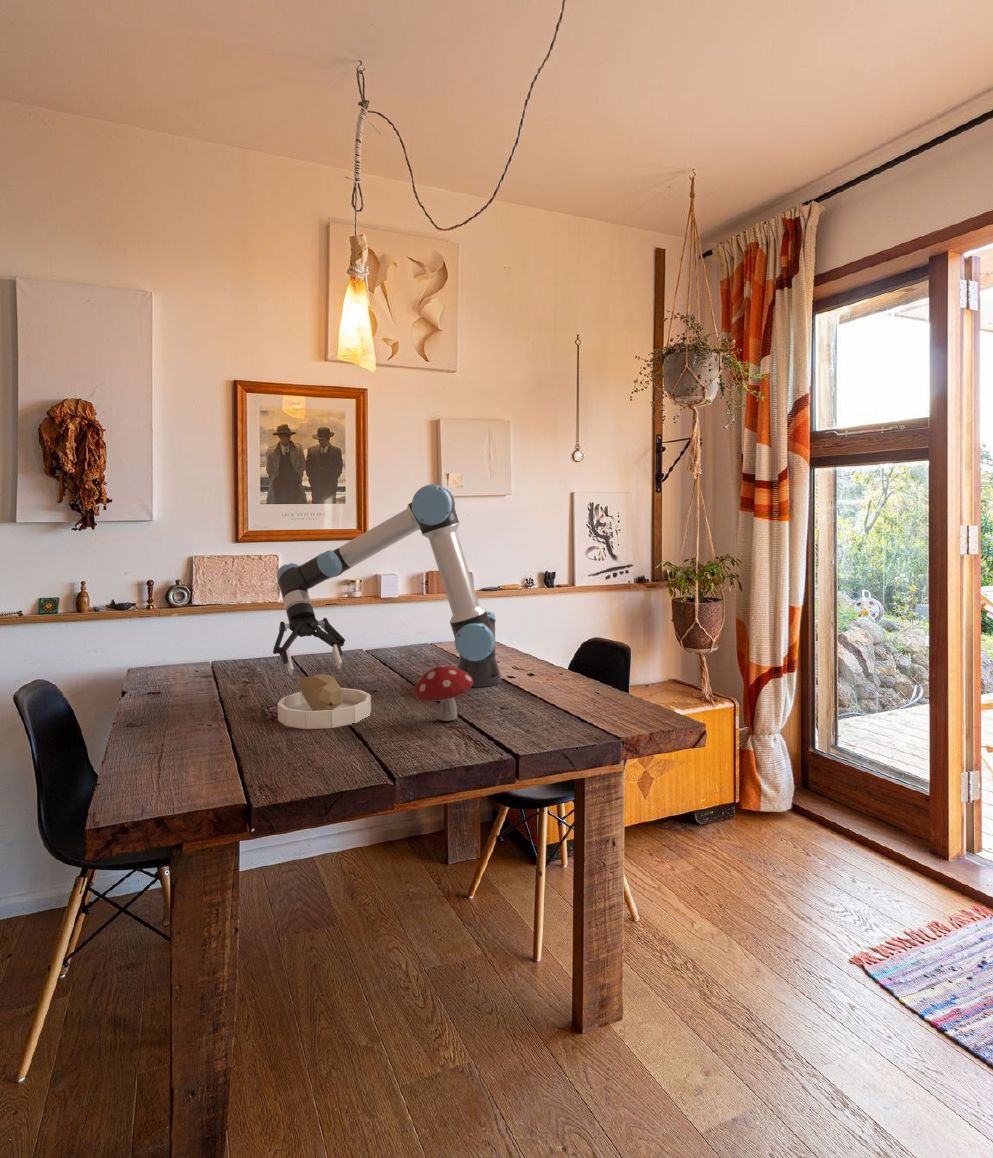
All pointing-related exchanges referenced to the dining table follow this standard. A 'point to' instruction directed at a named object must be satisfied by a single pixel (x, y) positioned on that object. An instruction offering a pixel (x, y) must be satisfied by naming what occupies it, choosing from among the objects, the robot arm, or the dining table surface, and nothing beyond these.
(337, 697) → the low-poly potato
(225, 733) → the dining table surface
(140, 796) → the dining table surface
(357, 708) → the cream bowl
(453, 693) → the decorative mushroom
